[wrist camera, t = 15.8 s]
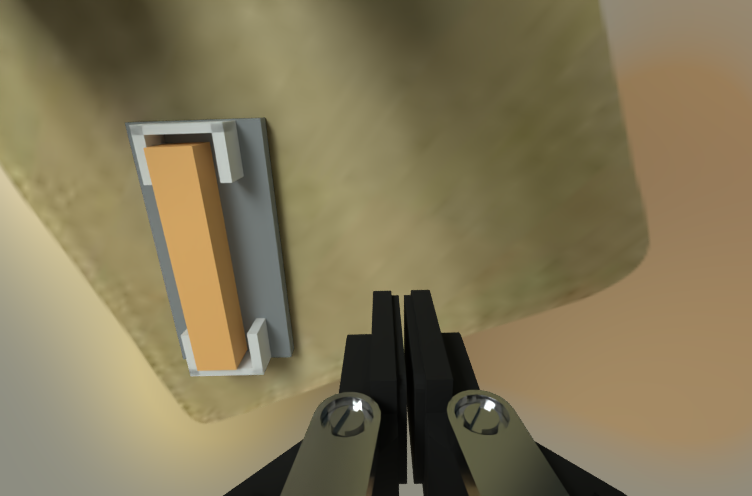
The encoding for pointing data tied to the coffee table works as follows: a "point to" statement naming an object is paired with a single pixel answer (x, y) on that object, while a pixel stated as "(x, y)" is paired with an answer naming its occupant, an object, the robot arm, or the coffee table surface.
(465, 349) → the robot arm
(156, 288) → the coffee table surface
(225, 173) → the cap board
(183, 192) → the slat
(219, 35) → the coffee table surface
